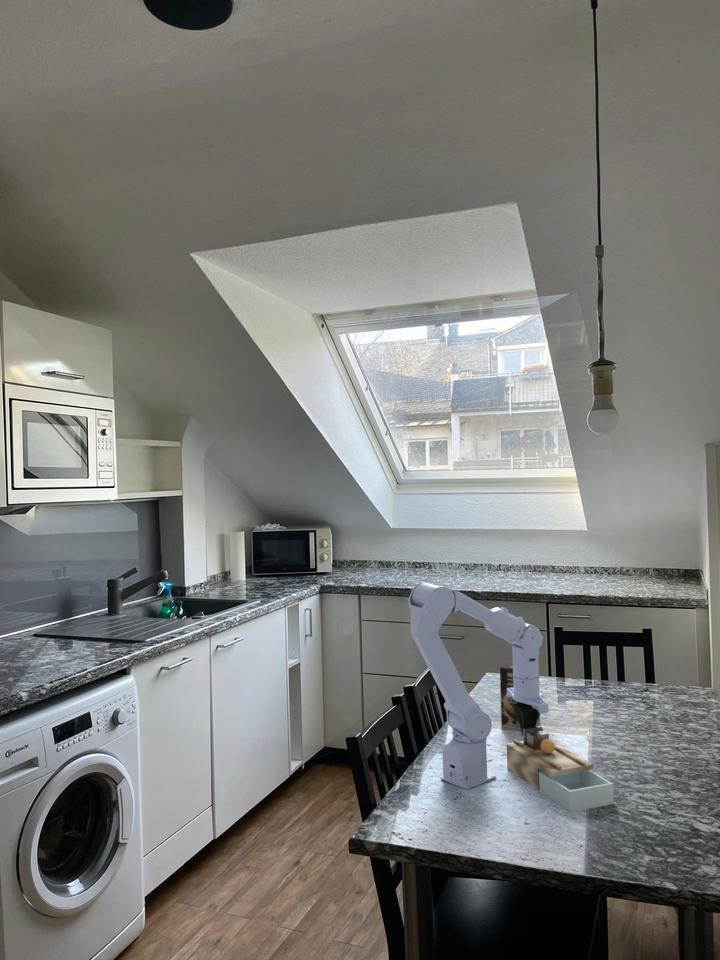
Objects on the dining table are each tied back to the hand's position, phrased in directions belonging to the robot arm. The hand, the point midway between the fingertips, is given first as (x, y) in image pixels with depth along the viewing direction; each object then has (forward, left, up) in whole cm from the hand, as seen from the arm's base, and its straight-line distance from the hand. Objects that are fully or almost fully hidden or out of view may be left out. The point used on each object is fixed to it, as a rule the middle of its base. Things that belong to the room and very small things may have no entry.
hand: (528, 736), depth 168 cm
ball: (-3, -8, 0) cm, 8 cm away
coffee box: (+20, +18, -7) cm, 28 cm away
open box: (-6, -17, -7) cm, 19 cm away
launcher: (-2, -7, -7) cm, 10 cm away
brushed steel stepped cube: (-1, -3, -1) cm, 4 cm away
